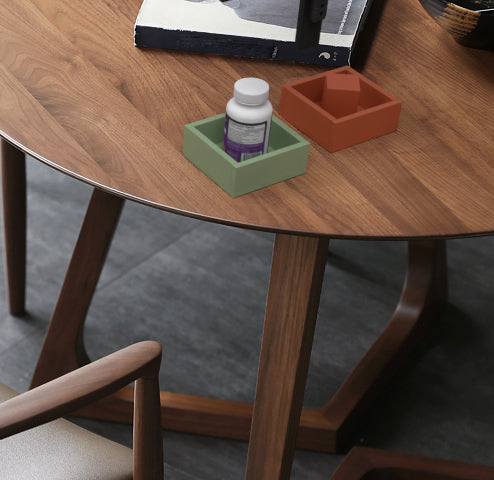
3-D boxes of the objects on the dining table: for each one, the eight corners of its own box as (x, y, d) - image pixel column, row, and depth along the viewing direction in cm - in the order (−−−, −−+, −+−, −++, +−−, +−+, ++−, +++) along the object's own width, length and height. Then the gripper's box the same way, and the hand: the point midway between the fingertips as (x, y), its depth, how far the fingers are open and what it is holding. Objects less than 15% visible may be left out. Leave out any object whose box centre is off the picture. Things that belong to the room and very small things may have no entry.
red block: (351, 110, 137) (358, 74, 134) (353, 126, 135) (360, 90, 131) (320, 108, 138) (326, 72, 134) (321, 124, 135) (327, 88, 131)
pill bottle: (233, 142, 131) (241, 69, 125) (274, 155, 129) (283, 82, 123) (213, 163, 128) (220, 89, 121) (254, 177, 126) (263, 102, 119)
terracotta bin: (396, 130, 135) (402, 101, 132) (330, 153, 131) (335, 123, 128) (342, 93, 142) (347, 65, 139) (278, 114, 138) (281, 85, 135)
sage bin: (305, 173, 128) (310, 143, 125) (233, 198, 124) (236, 167, 121) (253, 132, 134) (256, 102, 131) (182, 154, 130) (184, 124, 127)
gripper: (408, -161, 96) (369, 60, 110) (243, -228, 111) (228, -27, 126) (343, -147, 93) (312, 78, 107) (183, -218, 109) (174, -13, 123)
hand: (266, 22), depth 117 cm, fingers open, 13 cm apart
